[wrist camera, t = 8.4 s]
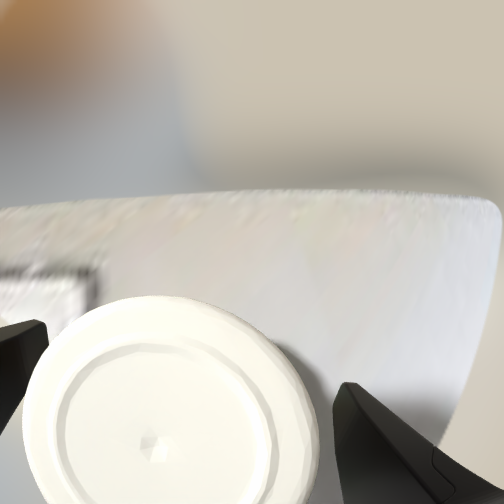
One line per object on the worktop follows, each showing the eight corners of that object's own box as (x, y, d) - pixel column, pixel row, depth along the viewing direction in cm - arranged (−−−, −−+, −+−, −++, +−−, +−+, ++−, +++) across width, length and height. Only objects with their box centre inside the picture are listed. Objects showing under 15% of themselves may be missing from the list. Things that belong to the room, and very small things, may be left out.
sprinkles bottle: (197, 363, 17) (154, 228, 5) (263, 416, 16) (389, 418, 4) (142, 421, 15) (-30, 416, 3) (207, 477, 14) (185, 624, 2)
